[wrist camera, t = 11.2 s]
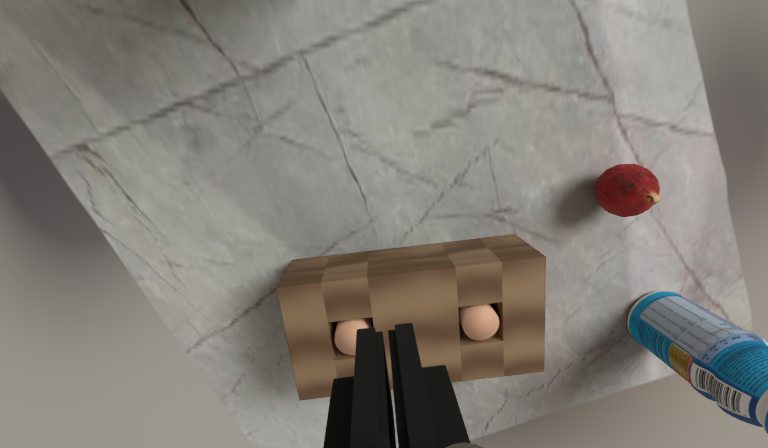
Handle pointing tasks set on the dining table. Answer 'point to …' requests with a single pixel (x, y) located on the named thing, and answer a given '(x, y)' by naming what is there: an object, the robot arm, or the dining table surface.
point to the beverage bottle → (706, 353)
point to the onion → (627, 190)
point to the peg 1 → (349, 334)
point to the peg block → (418, 307)
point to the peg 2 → (478, 321)
